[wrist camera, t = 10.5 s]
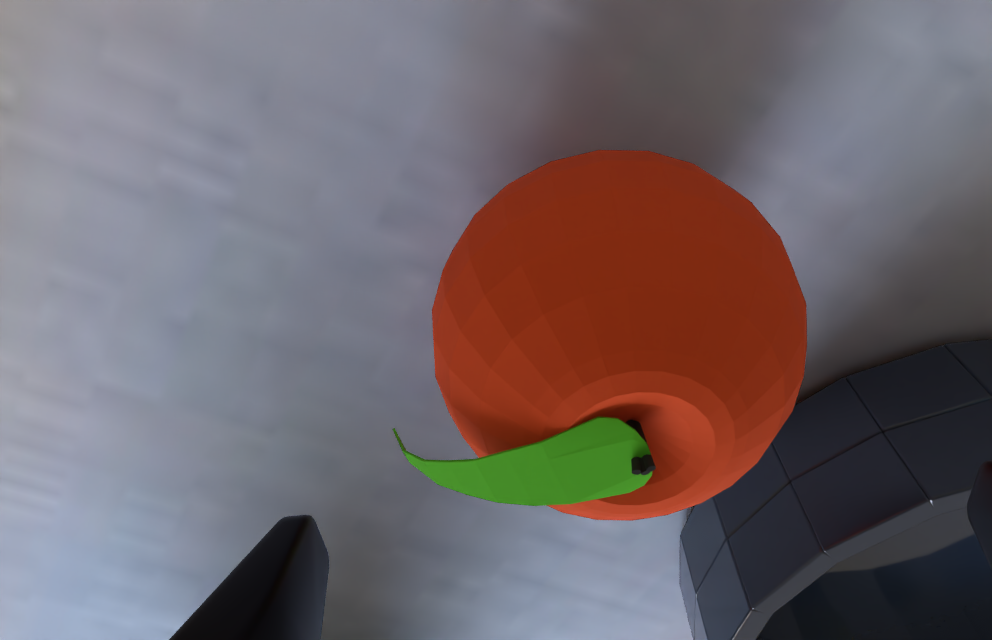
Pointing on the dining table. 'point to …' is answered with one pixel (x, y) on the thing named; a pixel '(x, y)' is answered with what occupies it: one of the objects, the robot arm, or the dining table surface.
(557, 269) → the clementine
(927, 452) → the fruit bowl
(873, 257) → the dining table surface
